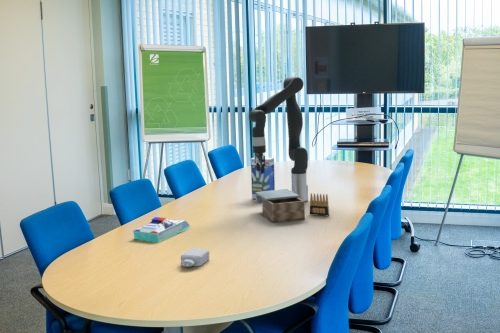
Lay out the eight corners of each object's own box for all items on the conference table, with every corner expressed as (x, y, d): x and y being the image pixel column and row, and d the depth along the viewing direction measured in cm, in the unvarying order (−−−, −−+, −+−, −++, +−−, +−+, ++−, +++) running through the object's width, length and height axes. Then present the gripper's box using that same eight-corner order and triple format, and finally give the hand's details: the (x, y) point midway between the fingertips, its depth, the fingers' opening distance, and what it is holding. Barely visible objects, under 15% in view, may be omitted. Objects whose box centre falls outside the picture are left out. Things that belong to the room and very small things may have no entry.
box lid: (287, 199, 336) (286, 189, 335) (299, 206, 318) (299, 195, 317) (255, 202, 331) (255, 192, 330) (266, 209, 312) (266, 198, 311)
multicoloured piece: (129, 240, 283) (128, 223, 282) (165, 225, 310) (164, 209, 308) (158, 244, 276) (157, 226, 274) (191, 228, 302) (190, 212, 301)
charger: (174, 270, 237) (189, 258, 251) (195, 271, 234) (209, 260, 248) (174, 259, 236) (189, 248, 250) (194, 260, 233) (209, 249, 247)
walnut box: (293, 212, 327) (292, 194, 325) (304, 219, 310) (304, 201, 308) (262, 215, 322) (262, 197, 320) (273, 222, 305) (272, 204, 303)
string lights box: (251, 198, 365) (250, 158, 361) (257, 196, 372) (255, 156, 368) (270, 200, 359) (269, 159, 355) (275, 197, 366) (274, 157, 362)
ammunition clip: (329, 215, 317) (328, 193, 315) (328, 215, 315) (327, 194, 313) (310, 213, 322) (310, 192, 320) (309, 214, 320) (309, 193, 318)
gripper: (268, 145, 329) (270, 173, 331) (261, 142, 342) (263, 169, 345) (256, 146, 327) (257, 174, 329) (249, 143, 340) (251, 170, 343)
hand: (260, 172), depth 337 cm, fingers open, 8 cm apart
